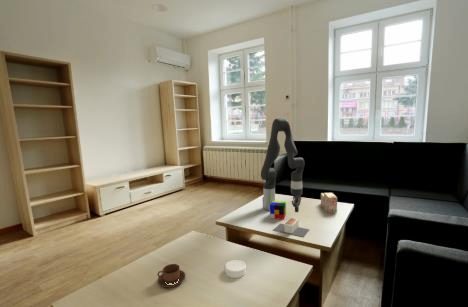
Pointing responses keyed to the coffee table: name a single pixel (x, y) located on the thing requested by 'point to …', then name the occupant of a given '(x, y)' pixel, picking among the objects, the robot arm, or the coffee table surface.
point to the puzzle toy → (278, 209)
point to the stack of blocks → (329, 202)
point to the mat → (297, 232)
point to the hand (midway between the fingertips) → (296, 212)
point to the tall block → (291, 225)
